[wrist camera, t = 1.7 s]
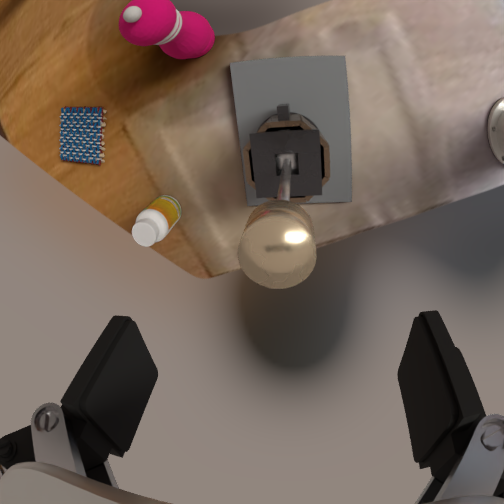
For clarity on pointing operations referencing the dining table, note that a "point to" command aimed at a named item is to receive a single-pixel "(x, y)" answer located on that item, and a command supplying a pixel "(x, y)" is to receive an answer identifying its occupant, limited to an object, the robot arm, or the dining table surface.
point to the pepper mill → (166, 28)
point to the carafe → (282, 142)
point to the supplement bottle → (156, 220)
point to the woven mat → (82, 134)
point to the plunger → (279, 236)
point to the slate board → (298, 109)
